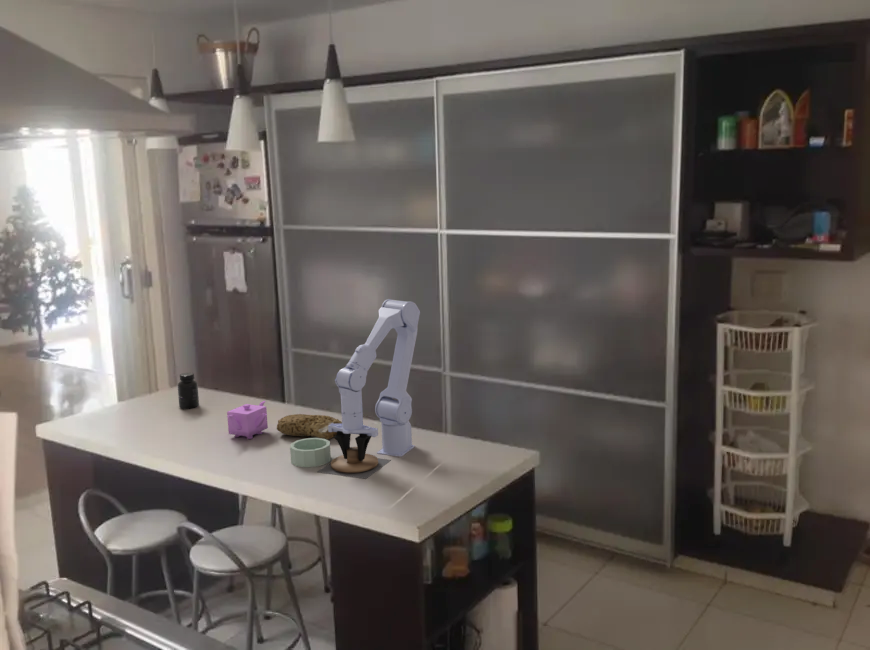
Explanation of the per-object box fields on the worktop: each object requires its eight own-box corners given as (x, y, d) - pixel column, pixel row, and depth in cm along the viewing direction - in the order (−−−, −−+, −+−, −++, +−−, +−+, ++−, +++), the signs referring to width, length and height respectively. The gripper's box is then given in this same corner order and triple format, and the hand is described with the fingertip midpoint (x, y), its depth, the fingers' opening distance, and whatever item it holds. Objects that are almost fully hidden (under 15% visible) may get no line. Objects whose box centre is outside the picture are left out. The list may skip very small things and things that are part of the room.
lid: (345, 453, 231) (345, 439, 230) (386, 458, 226) (385, 444, 225) (322, 469, 219) (321, 454, 219) (364, 475, 214) (363, 459, 213)
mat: (344, 455, 233) (344, 453, 232) (391, 461, 227) (391, 459, 226) (316, 473, 219) (316, 471, 219) (365, 480, 213) (365, 478, 213)
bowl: (305, 452, 235) (304, 436, 235) (337, 457, 231) (337, 440, 230) (283, 465, 226) (282, 448, 225) (317, 470, 221) (316, 452, 220)
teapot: (248, 446, 242) (246, 415, 241) (214, 441, 248) (212, 410, 246) (285, 429, 258) (283, 399, 256) (252, 424, 264) (250, 395, 262)
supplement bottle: (175, 409, 283) (172, 376, 281) (184, 404, 290) (182, 371, 288) (194, 409, 282) (191, 376, 280) (202, 404, 289) (200, 371, 287)
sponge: (347, 438, 252) (301, 416, 262) (346, 416, 248) (300, 395, 259) (317, 457, 242) (271, 433, 253) (316, 435, 239) (269, 412, 249)
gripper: (321, 413, 219) (324, 460, 222) (368, 418, 213) (370, 466, 216) (334, 405, 225) (337, 452, 228) (380, 410, 220) (382, 458, 222)
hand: (354, 458), depth 222 cm, fingers closed on lid, 4 cm apart
